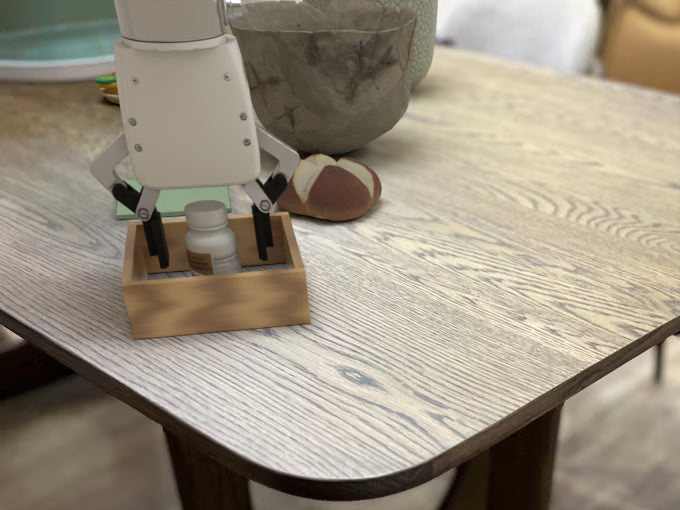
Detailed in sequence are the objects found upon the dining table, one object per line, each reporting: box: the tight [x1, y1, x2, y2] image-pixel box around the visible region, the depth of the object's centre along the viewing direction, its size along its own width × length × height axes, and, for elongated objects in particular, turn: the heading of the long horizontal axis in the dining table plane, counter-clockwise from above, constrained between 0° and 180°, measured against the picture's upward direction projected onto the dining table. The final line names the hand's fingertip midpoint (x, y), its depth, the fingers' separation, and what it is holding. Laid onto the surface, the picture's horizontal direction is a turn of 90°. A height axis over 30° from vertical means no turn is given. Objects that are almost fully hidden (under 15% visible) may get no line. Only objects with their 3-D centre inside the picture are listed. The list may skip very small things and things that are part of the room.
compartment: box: [120, 211, 312, 340], centre depth 74 cm, size 15×15×4 cm
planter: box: [302, 0, 439, 92], centre depth 127 cm, size 21×21×19 cm
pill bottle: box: [184, 200, 243, 277], centre depth 73 cm, size 4×4×8 cm
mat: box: [115, 178, 232, 221], centre depth 95 cm, size 12×12×1 cm
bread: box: [275, 153, 383, 222], centre depth 92 cm, size 11×11×5 cm
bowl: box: [228, 0, 418, 156], centre depth 104 cm, size 22×22×15 cm
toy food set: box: [94, 71, 120, 105], centre depth 127 cm, size 13×13×3 cm
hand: (214, 258), depth 74 cm, fingers open, 7 cm apart
